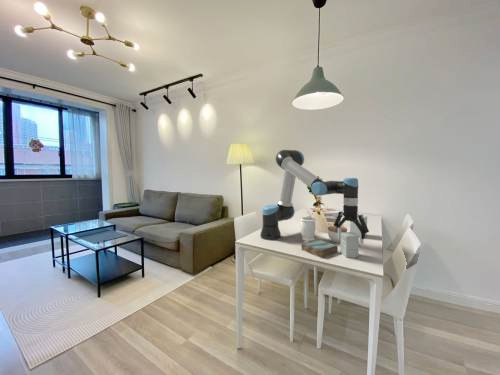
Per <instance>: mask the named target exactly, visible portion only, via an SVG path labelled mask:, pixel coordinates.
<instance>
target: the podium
mask: <svg viewBox="0 0 500 375" xmlns="http://www.w3.org/2000/svg"><path fill="white" fill-rule="evenodd" d="M338 248H339V247H338V245H336V244H333V243H330V242H327V241H324V240H321V239H314V240H312V241H306V242H304V243H302V244H301V250H302V251H304V252H306V253H308V254H311V255H314V256H316V257H318V258H320V259H322V258H324V257H328V256H330V255H333V254H336V253H338V252H339V250H338Z"/></svg>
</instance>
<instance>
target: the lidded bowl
mask: <svg viewBox="0 0 500 375" xmlns="http://www.w3.org/2000/svg"><path fill="white" fill-rule="evenodd" d="M343 232H348V228H347V227H345V226H342V225H341V233H343ZM327 235H328V238H329V239H330V240H331V242H333V243H339V244H341V238H340V239H338V233H337V227H336V226H334V225H329V226H327Z"/></svg>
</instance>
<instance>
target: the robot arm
mask: <svg viewBox="0 0 500 375" xmlns="http://www.w3.org/2000/svg"><path fill="white" fill-rule="evenodd" d="M304 161H305V156H304V154H303V153H302V152H301V151H300V150H297V149H282V150H279V151H278V152H277V154H276V156H275V162H276V164H277V166H278V167H279V168H281V169H282V170H284V174H283V181H282V187H281V193H280V198H279V200H278V201H277V203H276V204H267V205H264V206H263V207H262V212H261V213H262V228H261V229H260V230H261V231H260V235H259V236H261V237H262V238H261V237H260V238H261V239H263V238H266V239H265V240H267V239H275V240H279V239H281V236H282V233H281V230H280V227H279V222H283V221H288V220H290V219H292V218H293V217H294V216H295V214H296V213H295V207H294V204H293V203H292V199H293V194H294V189H295V183H296V179H298V180H299V181H301V182H302V183H303V184H304V185H306V186H307V187H308V188H310V190H311V192H312V194H313V195H315V196H325V195H332V194H335V195H337V194H339V195H340V194H341V195H343V202H342V203H343V206H342V208H343V209H342V210H343V211H339V212H337V216H336V219H335V221H334V222H333V226H336V227H337V233H338V239H340V238H341V226H342V225H344V223H346V221H347V222H350V221H351V222H352V221H353V222H354V223H355V224H356V226H357V227H358V229H359V230H360V232H361V233H360V238H359V245H360V246H362V245H364V240H365V239H366V236H365V233H369V232H370V230H369V228H368V225H367V226H366V223H365V221H364V219H363V216H364V214H358V213H359V211H358V210H359V207H358V206H359V205H358V204H359V179H358V178H357V177H344V178H343V180H342V181H341V180H326V181H323V179H321V178H319V177H318V176H316V175H315V174H314V173H313V172H311V171H309V170H308V169H306V168H305V167H304V166H302V165H304V163H305V162H304ZM342 217H343V218H342ZM357 217H358V219H359V221H360V223H361V224H360V223H359V221H358V219H357ZM355 220H356V221H355ZM361 225H362V226H361ZM278 238H279V239H278Z"/></svg>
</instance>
